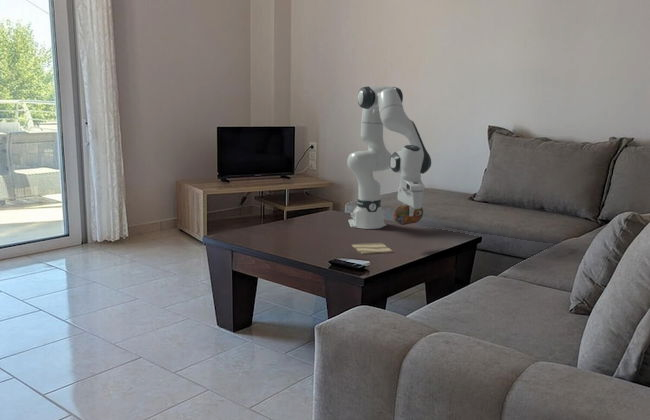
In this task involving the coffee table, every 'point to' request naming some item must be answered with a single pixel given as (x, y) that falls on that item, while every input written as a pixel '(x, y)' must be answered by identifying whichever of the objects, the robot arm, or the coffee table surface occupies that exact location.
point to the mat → (372, 248)
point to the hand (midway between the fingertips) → (408, 214)
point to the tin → (404, 218)
